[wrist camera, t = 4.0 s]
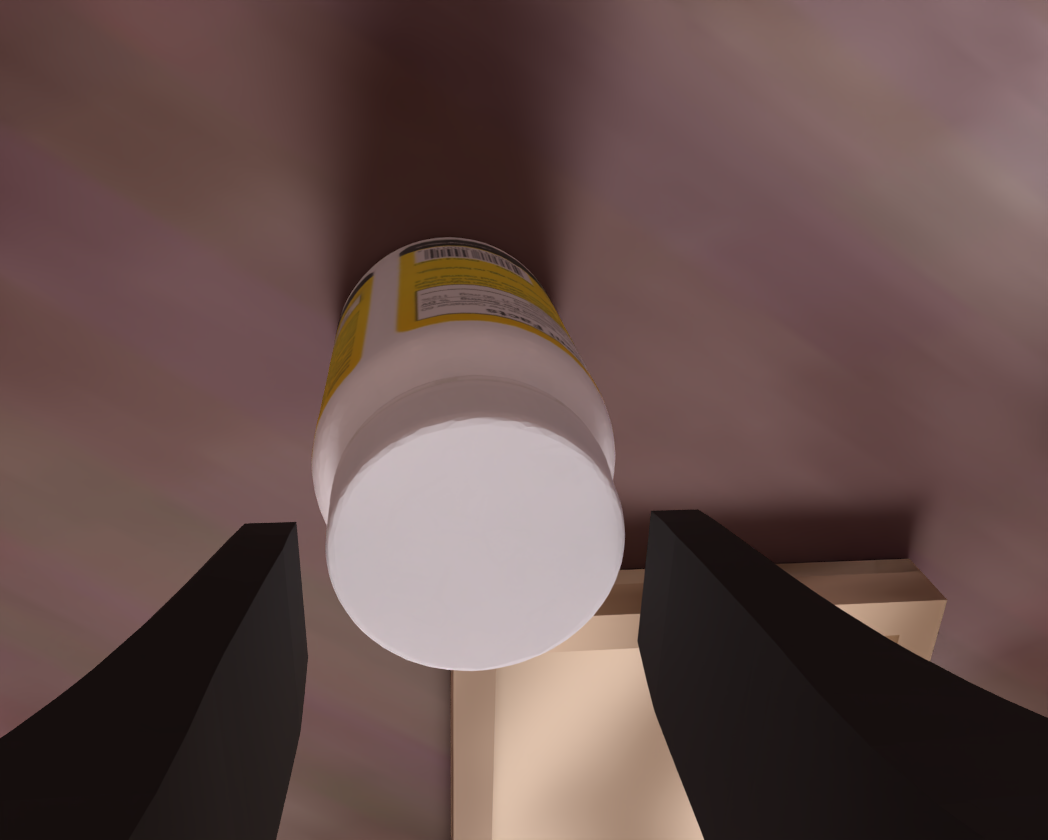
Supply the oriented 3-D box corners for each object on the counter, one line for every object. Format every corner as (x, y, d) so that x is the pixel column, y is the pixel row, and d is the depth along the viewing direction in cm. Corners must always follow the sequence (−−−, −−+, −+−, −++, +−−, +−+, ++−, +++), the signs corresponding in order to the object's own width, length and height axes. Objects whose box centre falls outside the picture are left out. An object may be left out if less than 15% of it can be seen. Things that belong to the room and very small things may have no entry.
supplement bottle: (414, 474, 20) (416, 747, 13) (292, 307, 18) (209, 511, 11) (595, 373, 20) (710, 594, 12) (490, 188, 18) (549, 316, 10)
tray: (909, 558, 23) (946, 599, 21) (828, 876, 28) (854, 929, 26) (450, 576, 22) (453, 622, 20) (451, 908, 26) (453, 966, 25)
